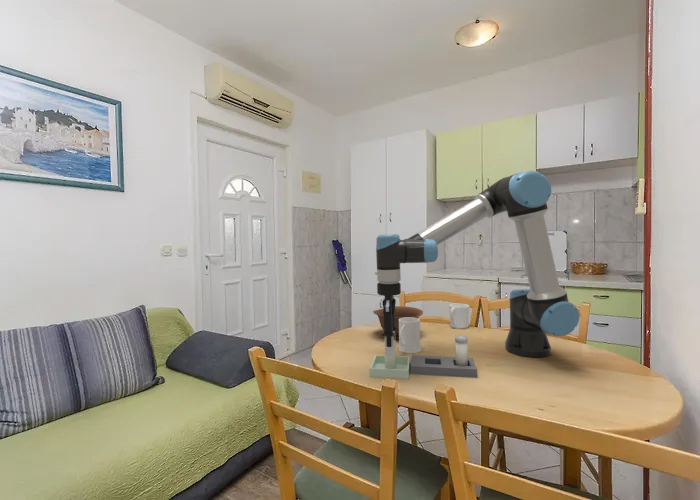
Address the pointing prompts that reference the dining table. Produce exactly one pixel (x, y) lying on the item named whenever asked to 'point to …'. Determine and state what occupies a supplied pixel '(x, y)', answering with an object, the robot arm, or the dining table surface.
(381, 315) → the bowl
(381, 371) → the tray
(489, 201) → the robot arm
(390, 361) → the cylinder
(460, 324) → the mug
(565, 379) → the dining table surface
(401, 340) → the mug
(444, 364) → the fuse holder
